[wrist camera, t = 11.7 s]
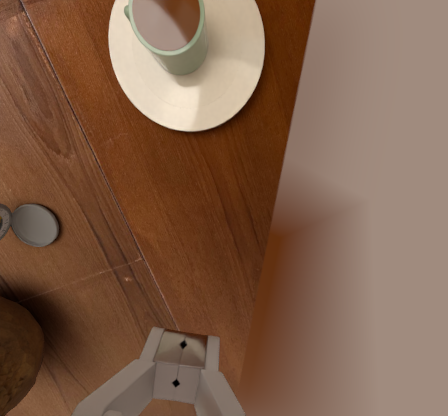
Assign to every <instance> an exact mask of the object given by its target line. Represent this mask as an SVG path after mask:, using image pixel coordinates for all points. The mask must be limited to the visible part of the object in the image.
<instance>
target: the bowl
mask: <svg viewBox="0 0 448 416" xmlns="http://www.w3.org/2000/svg"><path fill="white" fill-rule="evenodd" d="M43 350H44V335H43V331H42V328H41V327H40V325H39V324H38V322H37V321H36V320H35V319H34V317H33V316H32V315H31V313H30V312H29V311H28V310H27V309H26V308H24V307H23V306H21V305H20V304H18V303H15V302H13V301H11V300H8V299H5V298H3V297H0V416H5V415H6V413H8V412H9V411H10V410H11V409H13V408H14V407H15V406H17V405H18V403H19V402H20V401H21V400H22V399H23V398H24V397H25V396H26V395H27V393H28V392H29V391H30V389H31V388H32V387H33V386H34V384H35V381H36V377H37V374H38V372H39V370H40V367H41V363H42V360H43Z"/></svg>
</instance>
